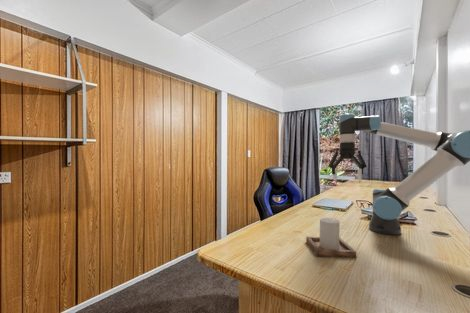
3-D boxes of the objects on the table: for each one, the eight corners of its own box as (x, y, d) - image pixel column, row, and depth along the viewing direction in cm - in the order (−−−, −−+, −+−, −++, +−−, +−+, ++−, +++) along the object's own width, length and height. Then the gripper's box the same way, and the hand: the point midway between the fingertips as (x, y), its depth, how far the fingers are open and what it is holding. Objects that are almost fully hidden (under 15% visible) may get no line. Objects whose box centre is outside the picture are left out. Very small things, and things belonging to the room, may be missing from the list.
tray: (339, 242, 108) (339, 237, 108) (356, 257, 92) (356, 251, 92) (306, 241, 108) (306, 236, 108) (317, 256, 92) (317, 250, 92)
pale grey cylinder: (341, 251, 95) (341, 223, 95) (321, 249, 97) (321, 222, 97) (336, 244, 103) (336, 218, 103) (318, 242, 105) (318, 217, 105)
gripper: (365, 142, 127) (365, 179, 127) (322, 142, 127) (322, 179, 127) (373, 141, 119) (374, 180, 119) (327, 141, 119) (327, 181, 119)
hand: (347, 180), depth 123 cm, fingers open, 13 cm apart
